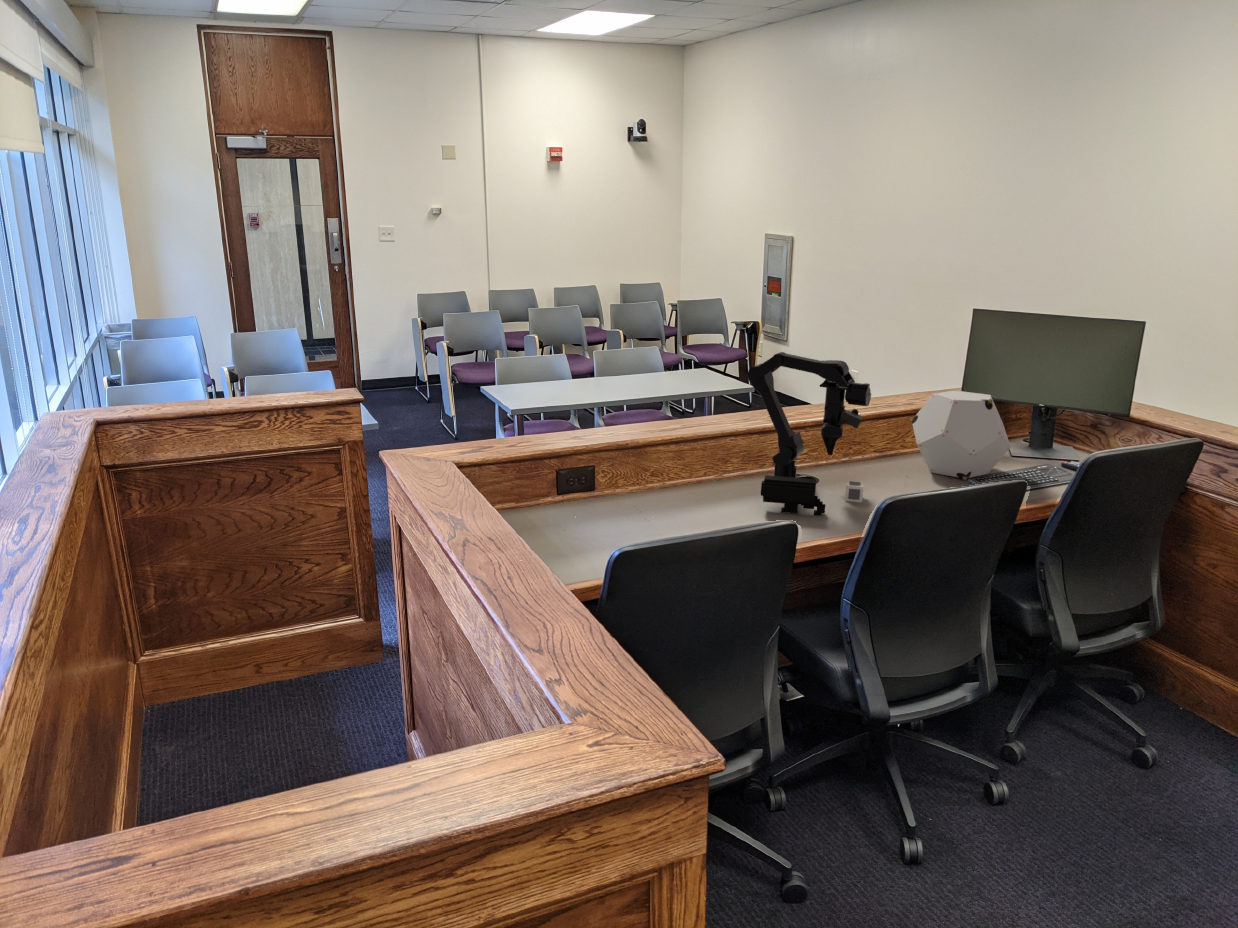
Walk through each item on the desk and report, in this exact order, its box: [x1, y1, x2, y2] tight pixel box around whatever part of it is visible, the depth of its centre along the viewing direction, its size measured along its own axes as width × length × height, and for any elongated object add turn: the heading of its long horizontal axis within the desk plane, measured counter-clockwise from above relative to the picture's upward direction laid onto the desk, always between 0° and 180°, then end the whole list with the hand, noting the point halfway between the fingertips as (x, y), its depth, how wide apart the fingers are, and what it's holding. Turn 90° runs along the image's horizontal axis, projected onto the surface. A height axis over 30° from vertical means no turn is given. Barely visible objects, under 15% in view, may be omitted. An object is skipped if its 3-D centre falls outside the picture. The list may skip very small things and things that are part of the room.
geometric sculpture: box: [909, 390, 1012, 481], centre depth 291 cm, size 30×30×30 cm
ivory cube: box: [844, 480, 864, 503], centre depth 266 cm, size 5×5×5 cm
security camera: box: [760, 474, 826, 517], centre depth 254 cm, size 7×18×10 cm, turn 77°
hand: (830, 451), depth 273 cm, fingers open, 9 cm apart
